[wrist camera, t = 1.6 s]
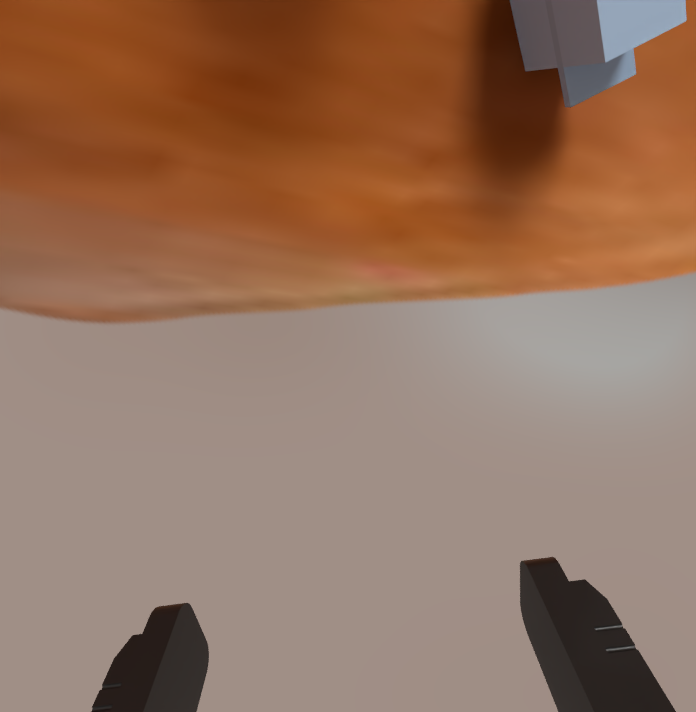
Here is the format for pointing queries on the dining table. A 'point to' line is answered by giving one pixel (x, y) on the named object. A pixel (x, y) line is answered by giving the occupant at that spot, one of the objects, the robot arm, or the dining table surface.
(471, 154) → the dining table surface
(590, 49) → the block
